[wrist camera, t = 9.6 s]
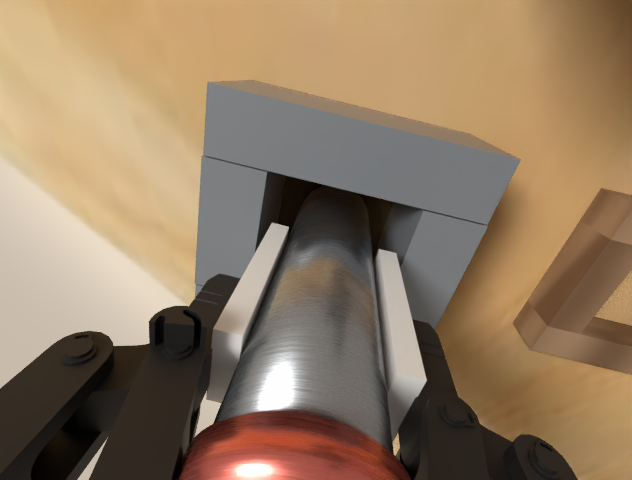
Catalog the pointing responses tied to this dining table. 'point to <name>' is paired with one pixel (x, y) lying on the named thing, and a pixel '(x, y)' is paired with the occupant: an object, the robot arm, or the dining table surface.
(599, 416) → the dining table surface
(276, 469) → the lock pin
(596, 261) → the mount collar
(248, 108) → the block
